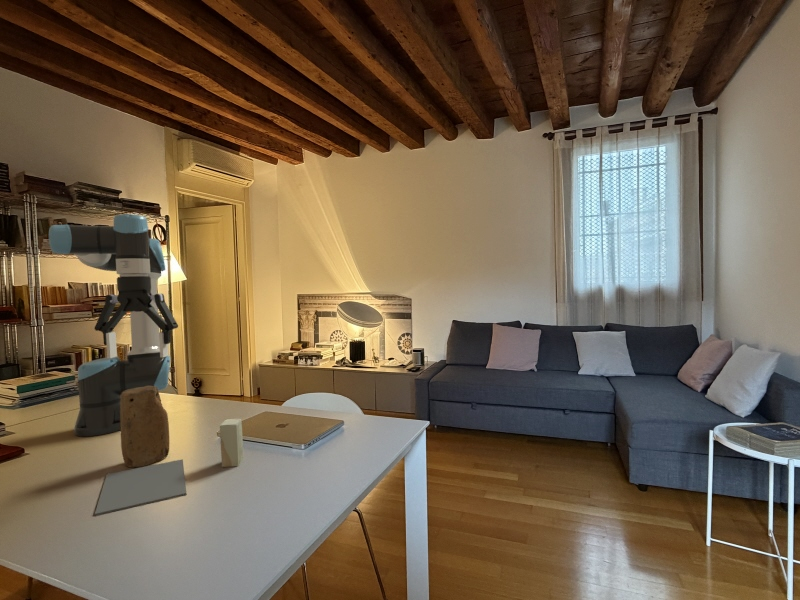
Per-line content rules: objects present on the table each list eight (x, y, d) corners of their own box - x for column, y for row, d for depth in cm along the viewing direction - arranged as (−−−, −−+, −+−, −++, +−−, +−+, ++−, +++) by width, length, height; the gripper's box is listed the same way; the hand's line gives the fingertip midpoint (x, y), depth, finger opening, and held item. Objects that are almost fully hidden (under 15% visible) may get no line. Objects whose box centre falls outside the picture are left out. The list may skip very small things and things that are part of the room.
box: (227, 459, 118) (225, 418, 117) (244, 458, 118) (242, 417, 118) (221, 467, 113) (219, 425, 112) (238, 466, 113) (236, 424, 112)
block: (125, 471, 112) (121, 394, 111) (121, 462, 118) (116, 388, 117) (172, 459, 119) (168, 386, 118) (166, 451, 125) (162, 382, 124)
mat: (107, 475, 110) (106, 474, 110) (182, 460, 118) (182, 459, 118) (94, 515, 90) (94, 513, 90) (186, 494, 98) (186, 493, 98)
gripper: (74, 276, 110) (80, 360, 111) (175, 274, 110) (179, 358, 111) (95, 276, 117) (100, 355, 119) (189, 274, 117) (193, 353, 119)
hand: (138, 357), depth 115 cm, fingers open, 13 cm apart
